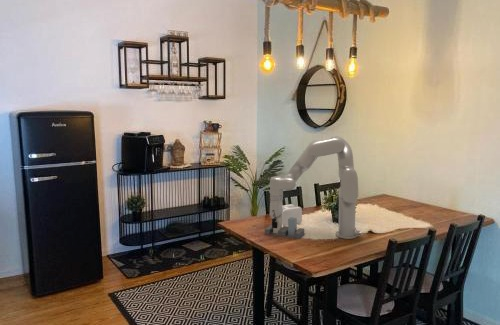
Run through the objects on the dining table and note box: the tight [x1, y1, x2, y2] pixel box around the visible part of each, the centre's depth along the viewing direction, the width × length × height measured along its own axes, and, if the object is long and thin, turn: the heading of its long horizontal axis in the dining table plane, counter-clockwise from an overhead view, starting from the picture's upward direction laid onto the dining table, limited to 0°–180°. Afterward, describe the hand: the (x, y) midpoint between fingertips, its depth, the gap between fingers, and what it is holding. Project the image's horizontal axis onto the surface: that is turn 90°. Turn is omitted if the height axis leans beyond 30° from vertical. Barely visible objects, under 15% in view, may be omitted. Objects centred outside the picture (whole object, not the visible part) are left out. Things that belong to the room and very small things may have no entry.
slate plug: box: [287, 217, 298, 236], centre depth 232 cm, size 4×4×10 cm
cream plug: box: [273, 216, 283, 234], centre depth 236 cm, size 4×4×10 cm
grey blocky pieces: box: [263, 223, 306, 240], centre depth 235 cm, size 23×10×4 cm, turn 64°
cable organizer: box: [281, 203, 303, 226], centre depth 256 cm, size 15×11×12 cm
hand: (276, 226), depth 236 cm, fingers open, 6 cm apart
